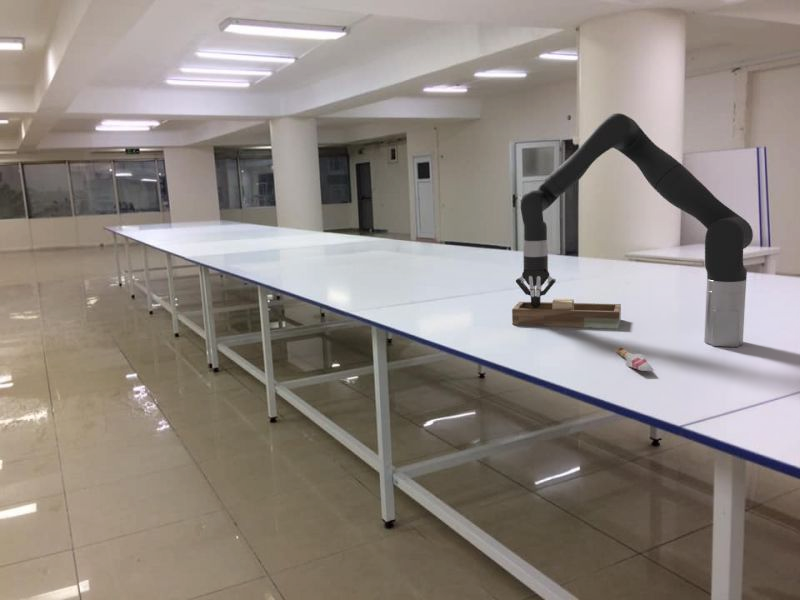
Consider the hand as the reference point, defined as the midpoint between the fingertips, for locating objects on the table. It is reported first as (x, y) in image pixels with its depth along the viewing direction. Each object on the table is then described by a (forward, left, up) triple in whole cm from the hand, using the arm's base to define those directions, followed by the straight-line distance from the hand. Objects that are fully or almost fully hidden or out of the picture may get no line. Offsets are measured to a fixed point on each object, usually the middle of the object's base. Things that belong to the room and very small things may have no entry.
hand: (535, 307), depth 203 cm
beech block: (0, -9, -1) cm, 9 cm away
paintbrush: (-42, -30, -5) cm, 52 cm away
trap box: (0, -10, -4) cm, 11 cm away
